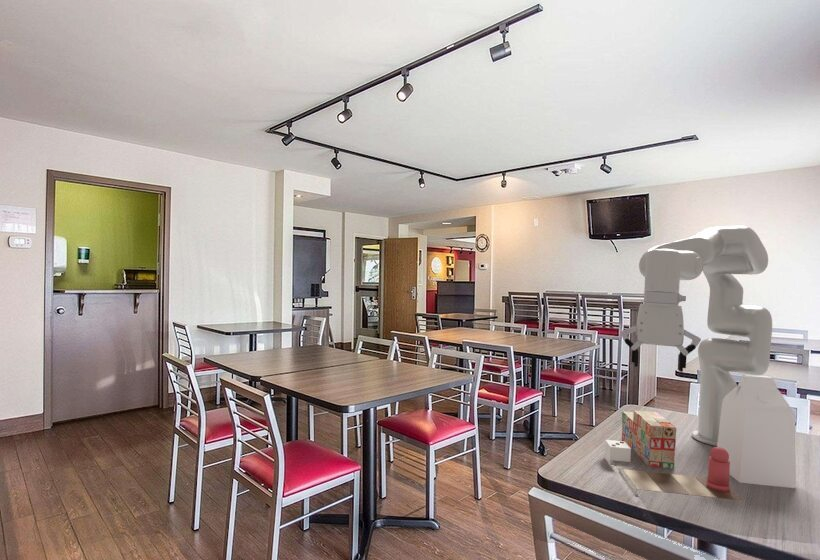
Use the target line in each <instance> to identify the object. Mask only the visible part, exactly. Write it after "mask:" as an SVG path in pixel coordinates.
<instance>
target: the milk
mask: <svg viewBox="0 0 820 560" xmlns="http://www.w3.org/2000/svg"><path fill="white" fill-rule="evenodd" d="M716 447H722V448H724V449H725V450H726V451H727V452H728V454H729V460H728V461H729V462H730V472H729V476H731V477H732V478H733V479H735V481H737V482H738V483H742V484H751V485H760V486H771V487H778V488H780V487H781V488H790V489H797V469H796V468H797V466H796V465H797V464H796V463H797V462H796V460H797V458H796V456H797V455H796V417H795V413H794V411H793V409H792V407H791V405H790V404H789V403H788V401H787V400H786V399H785V397H784V396H783V394H782V393H781V391H780V390H779V388H778V386H777V384H776V382H775V380H774V378H773V377H772V376H766V375H749V374H743V375H742V376H741V378H740V380H739V382H738V384H737V386H736V387H735V388H734V389H733V390H732V391H731V392H729V393H728V394H727V395H726V396H725V397H724V399H723V401H722V409H721V417H720V425H719V434H718V442H717V446H716Z"/></svg>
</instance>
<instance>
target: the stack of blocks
mask: <svg viewBox="0 0 820 560" xmlns="http://www.w3.org/2000/svg"><path fill="white" fill-rule="evenodd" d="M621 413H622V414H621V417H622V418H621V441H625V442H626V443H627V445H628V446H629V447H630V448H631V450H633V451H634V452H635V453H636V454H637V455H638V456H639V457H640V459H642V461H643V462H644V464H645V465H647V467H651V468H652V467H654V468H662V469H663V468H664V469H673V470H674V469H675V455H676V454H675V452H676V443H677V442H676V441H677V440H676V437H677V427H676V426H675V425H674V424H672V423H671V421H669V420H668V419H667V418H665V417H663V415H661V414H660V413H658V412H656V411H646V410H645V411H644V410H643V411H641V410H633V411H621Z"/></svg>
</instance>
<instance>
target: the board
mask: <svg viewBox="0 0 820 560" xmlns="http://www.w3.org/2000/svg"><path fill="white" fill-rule="evenodd" d="M618 470H619V471H618V473H619V475H620V476H621V478H622V480H623V481H624V482H625V484H626V485H627V487H628V488H629V489H630V490H631V492H632V493H633V495H634V497H635V498H636V497H637V498H639V497H640V496H639V495H638V494H637V492H636V491H635V489H634V487H633V486H635V487H636V490H640V491H650V492H651V491H652V492H660V493H669V494H679V495H687V496H688V495H690V496H698V497H708V498H718V499H725V500H726V499H727V500H736V501H744V499H743V498H742V497H741V496H740V495H738V494H737V493H736V492H734V491H733V490H732V489H731V488H730V491H729V492H719V491H715V490H712V489H710V488H709V487H707V479H708V477H705V476H693V475H686V474H685V475H684V474H675V473H671V474H670V473H665V472H663V473H662V472H654V471H653V472H652V471H643V470H636V469H635V470H633V469H626V468H625V469H622V470H623V472H624V473H625V474H626V476H627V477H628V478H629V479H630V481H631V482H632V484H633V486H632V485H631V483H630V482H629V481H628V479H627V477H626V476H625V475H624V474H623V472H622V471H621V469H618Z"/></svg>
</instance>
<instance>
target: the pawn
mask: <svg viewBox="0 0 820 560" xmlns="http://www.w3.org/2000/svg"><path fill="white" fill-rule="evenodd" d="M709 455H710V456H709V457H708V464H707V465H708V471H707V478H708V479H707V487H709V488H710V489H712V490H715V491H719V492H729V491H730V489H731V484H730V474H729V472H730V462H729V461H728V460H729V454H728V452H727V451H726V450H725V449H724V448H722V447H717V446H713V448H711V449H710V451H709ZM707 487H706V488H707Z"/></svg>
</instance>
